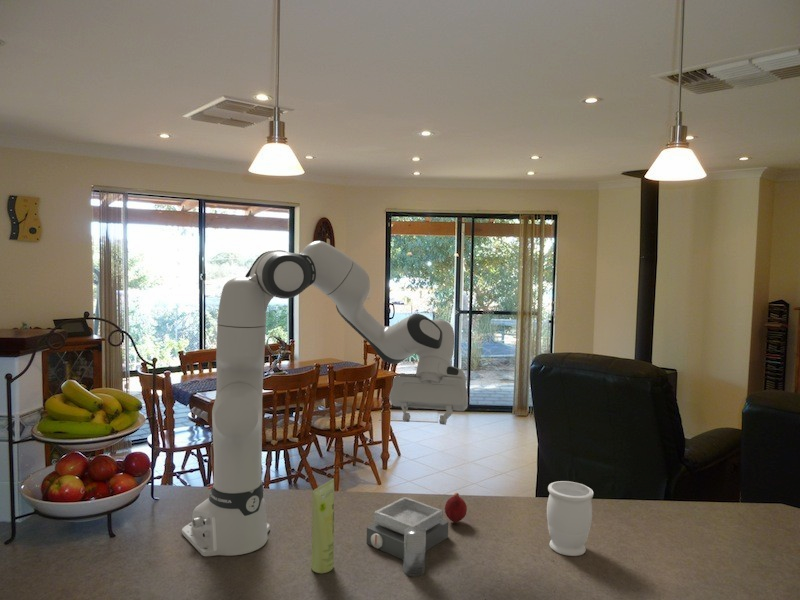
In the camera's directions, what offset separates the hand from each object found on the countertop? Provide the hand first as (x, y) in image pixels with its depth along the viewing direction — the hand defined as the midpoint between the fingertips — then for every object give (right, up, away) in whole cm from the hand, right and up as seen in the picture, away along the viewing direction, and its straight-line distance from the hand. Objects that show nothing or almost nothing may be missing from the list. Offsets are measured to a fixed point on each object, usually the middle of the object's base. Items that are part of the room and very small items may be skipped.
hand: (424, 422), depth 146 cm
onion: (+9, -29, +9) cm, 31 cm away
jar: (+35, -30, -3) cm, 46 cm away
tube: (-24, -30, -16) cm, 41 cm away
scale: (-4, -29, -2) cm, 29 cm away
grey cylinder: (-3, -30, -15) cm, 34 cm away
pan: (-4, -24, -2) cm, 25 cm away
